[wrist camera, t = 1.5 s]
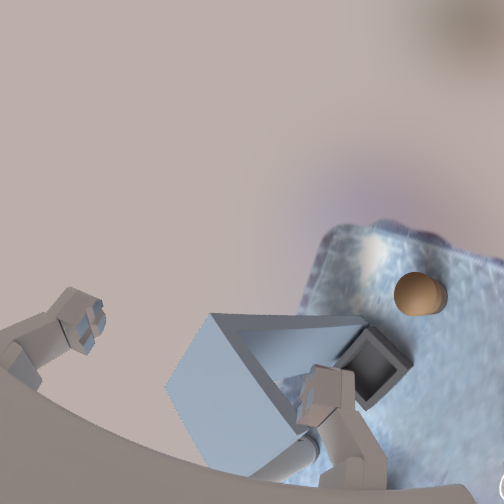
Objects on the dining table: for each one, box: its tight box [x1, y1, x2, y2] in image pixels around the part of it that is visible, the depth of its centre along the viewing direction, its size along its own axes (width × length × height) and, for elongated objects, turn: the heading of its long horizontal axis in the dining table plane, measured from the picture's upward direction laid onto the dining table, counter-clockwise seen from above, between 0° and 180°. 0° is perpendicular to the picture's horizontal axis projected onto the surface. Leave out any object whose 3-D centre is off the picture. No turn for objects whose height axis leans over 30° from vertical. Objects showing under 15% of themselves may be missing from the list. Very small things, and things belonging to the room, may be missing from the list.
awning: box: [165, 313, 369, 477], centre depth 31 cm, size 12×10×28 cm
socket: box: [333, 327, 414, 411], centre depth 39 cm, size 8×8×4 cm
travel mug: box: [249, 435, 319, 483], centre depth 38 cm, size 6×7×20 cm
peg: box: [394, 272, 448, 316], centre depth 32 cm, size 4×4×12 cm
